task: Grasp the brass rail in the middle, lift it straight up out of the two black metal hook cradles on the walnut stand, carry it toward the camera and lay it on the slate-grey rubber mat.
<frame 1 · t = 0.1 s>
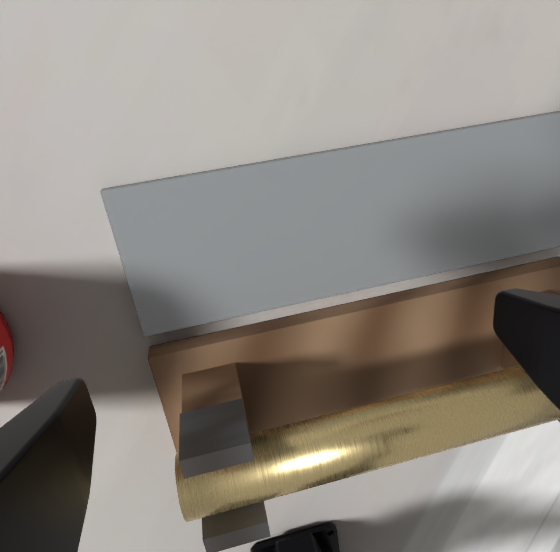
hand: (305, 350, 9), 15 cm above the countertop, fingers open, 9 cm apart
stand: (371, 354, 28), on the countertop
mat: (362, 219, 24), on the countertop
rail: (407, 403, 23), point 5 cm above the countertop, touching stand
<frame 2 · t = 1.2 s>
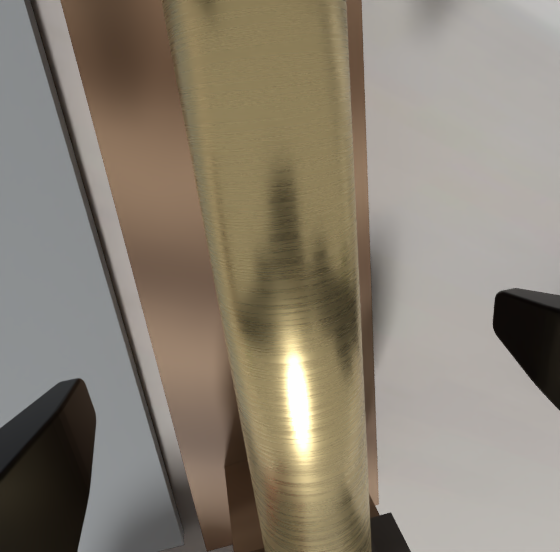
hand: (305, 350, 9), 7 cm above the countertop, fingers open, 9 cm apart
stand: (251, 248, 16), on the countertop
rail: (279, 307, 11), point 5 cm above the countertop, touching stand
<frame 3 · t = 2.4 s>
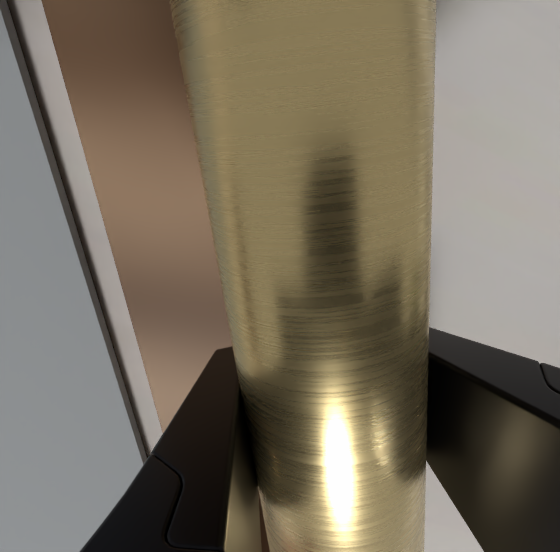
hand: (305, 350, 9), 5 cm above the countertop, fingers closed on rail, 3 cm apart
stand: (267, 274, 13), on the countertop
rail: (310, 362, 9), point 5 cm above the countertop, touching gripper, stand
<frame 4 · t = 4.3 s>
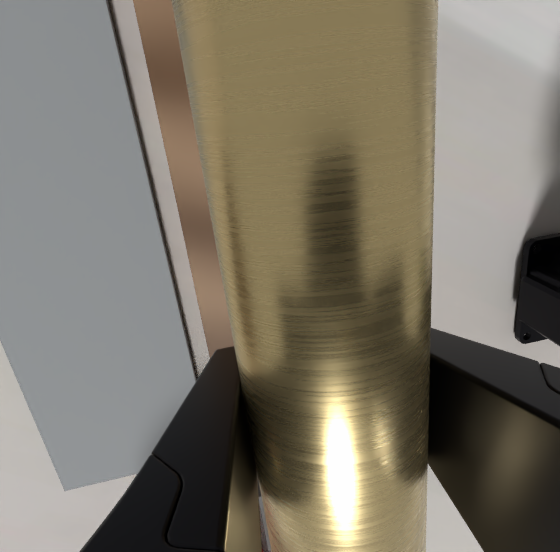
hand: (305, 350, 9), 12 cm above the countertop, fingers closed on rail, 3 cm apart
stand: (268, 213, 21), on the countertop
mat: (71, 246, 19), on the countertop
rail: (311, 361, 9), point 13 cm above the countertop, touching gripper
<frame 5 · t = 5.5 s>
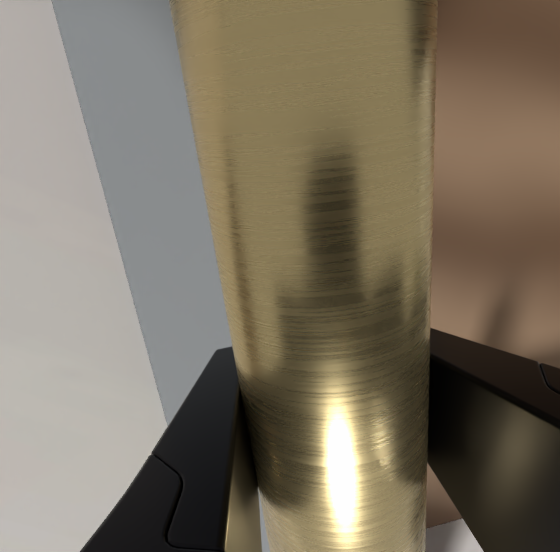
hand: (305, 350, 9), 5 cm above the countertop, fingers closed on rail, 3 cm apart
stand: (507, 219, 15), on the countertop
mat: (259, 264, 14), on the countertop
rail: (310, 362, 9), point 6 cm above the countertop, touching gripper
when the fingers open (1 cm above the countertop, at t = 6.4 s): rail drops 1 cm, resting on mat.
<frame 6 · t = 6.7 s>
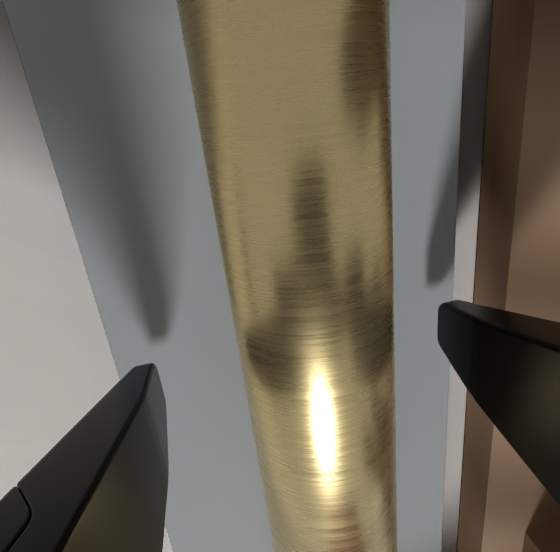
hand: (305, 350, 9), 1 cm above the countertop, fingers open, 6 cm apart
mat: (288, 318, 11), on the countertop
rail: (293, 329, 10), point 1 cm above the countertop, tilted 5°, touching mat
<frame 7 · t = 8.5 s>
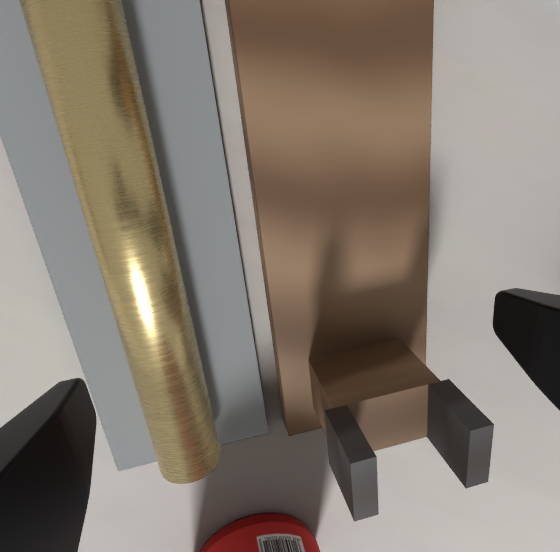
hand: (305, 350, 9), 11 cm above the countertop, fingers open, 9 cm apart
stand: (336, 179, 20), on the countertop
mat: (137, 211, 19), on the countertop
canned food: (255, 550, 28), on the countertop
rail: (136, 214, 18), point 1 cm above the countertop, touching mat
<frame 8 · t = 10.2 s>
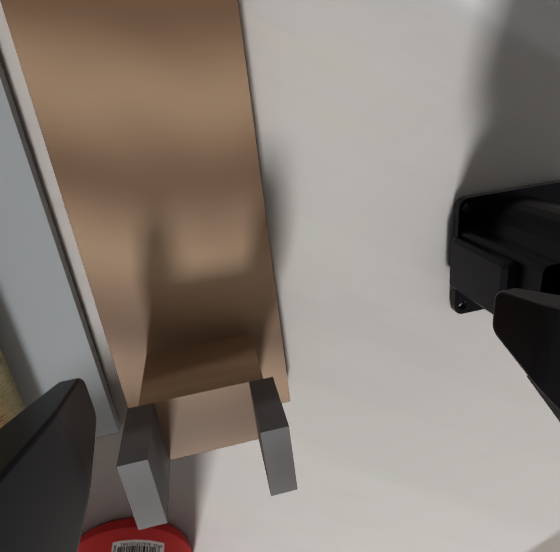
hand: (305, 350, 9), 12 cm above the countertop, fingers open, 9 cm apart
stand: (161, 160, 19), on the countertop
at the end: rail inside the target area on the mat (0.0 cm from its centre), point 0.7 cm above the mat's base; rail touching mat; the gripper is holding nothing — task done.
